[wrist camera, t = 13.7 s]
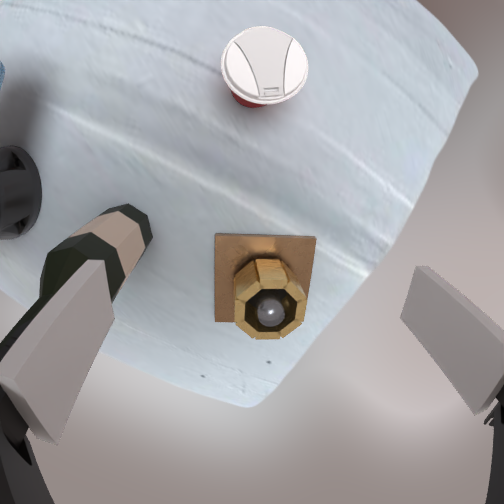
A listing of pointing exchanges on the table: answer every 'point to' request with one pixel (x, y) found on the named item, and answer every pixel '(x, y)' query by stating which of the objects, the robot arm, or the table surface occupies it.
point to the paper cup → (263, 66)
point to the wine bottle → (94, 254)
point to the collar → (267, 277)
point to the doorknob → (251, 248)
